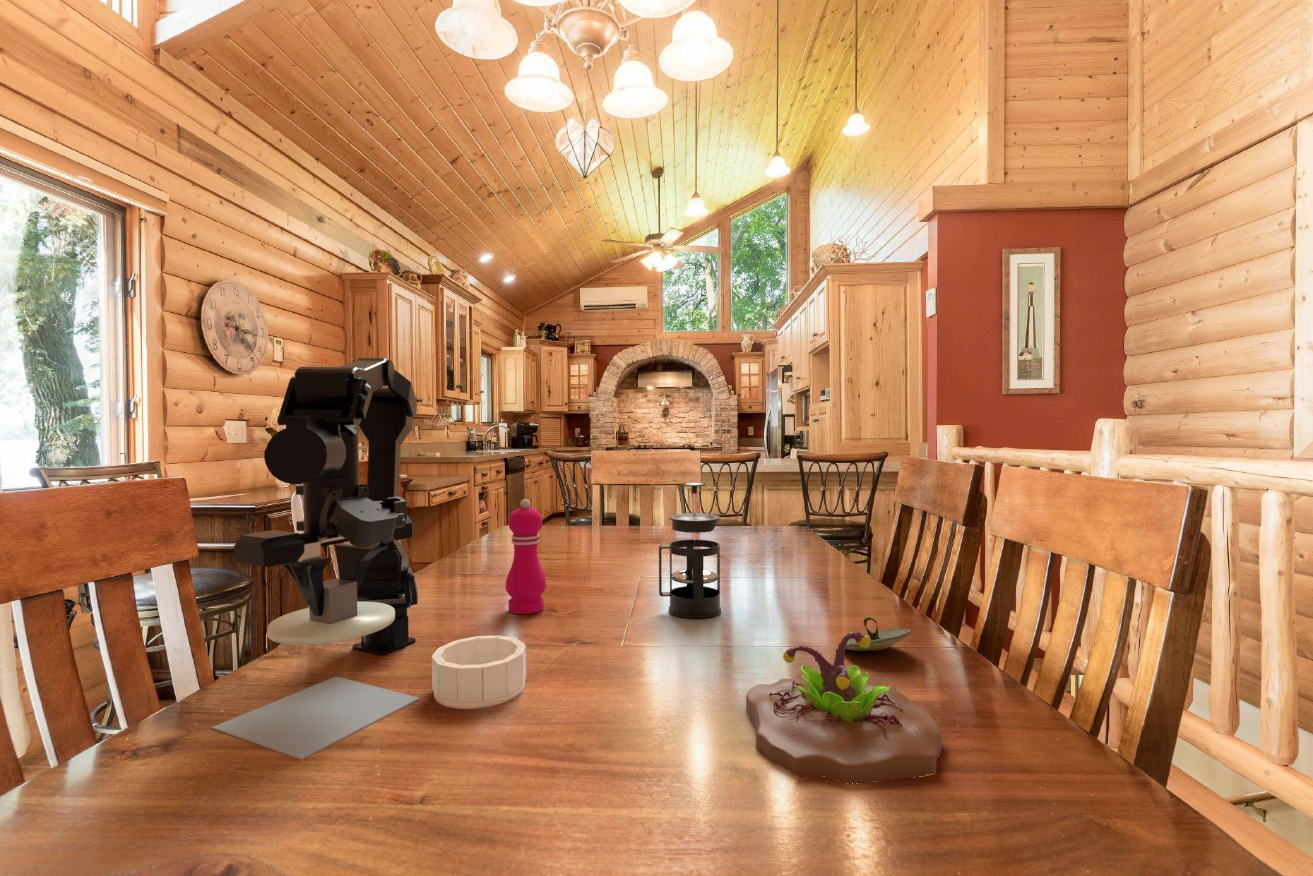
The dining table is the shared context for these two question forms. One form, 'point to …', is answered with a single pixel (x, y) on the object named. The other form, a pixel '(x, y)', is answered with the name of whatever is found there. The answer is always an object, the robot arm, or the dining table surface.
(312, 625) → the cover
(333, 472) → the robot arm
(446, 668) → the bowl
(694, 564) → the french press
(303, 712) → the mat
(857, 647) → the lid
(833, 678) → the plant
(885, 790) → the dining table surface
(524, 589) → the pepper mill
